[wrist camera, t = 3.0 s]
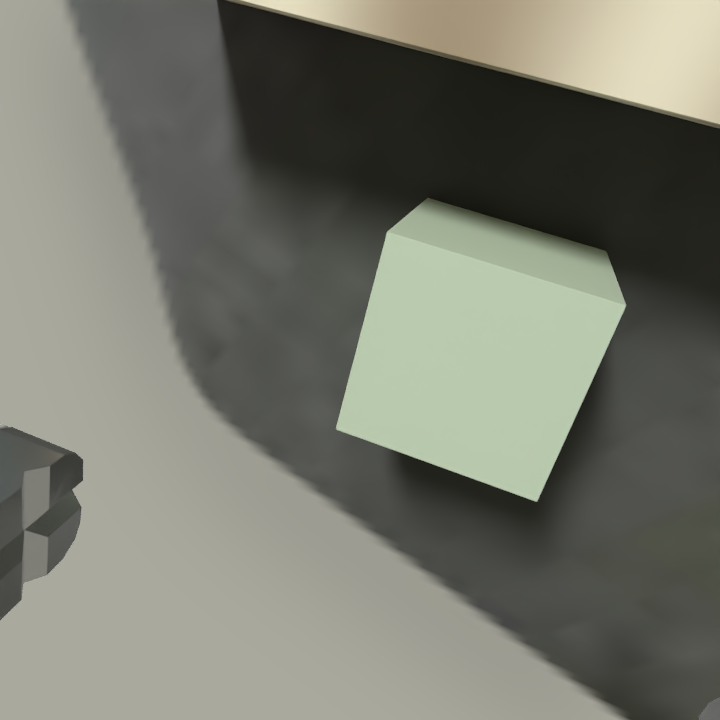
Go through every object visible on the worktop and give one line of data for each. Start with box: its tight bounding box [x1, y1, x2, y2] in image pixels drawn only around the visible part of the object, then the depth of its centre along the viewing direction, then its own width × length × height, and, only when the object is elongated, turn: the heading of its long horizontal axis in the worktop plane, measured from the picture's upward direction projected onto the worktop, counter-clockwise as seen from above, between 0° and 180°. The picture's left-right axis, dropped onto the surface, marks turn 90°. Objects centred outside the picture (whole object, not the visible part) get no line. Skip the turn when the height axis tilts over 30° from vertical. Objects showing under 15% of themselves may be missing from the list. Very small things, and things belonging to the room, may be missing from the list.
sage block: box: [336, 198, 626, 502], centre depth 16 cm, size 5×5×5 cm
